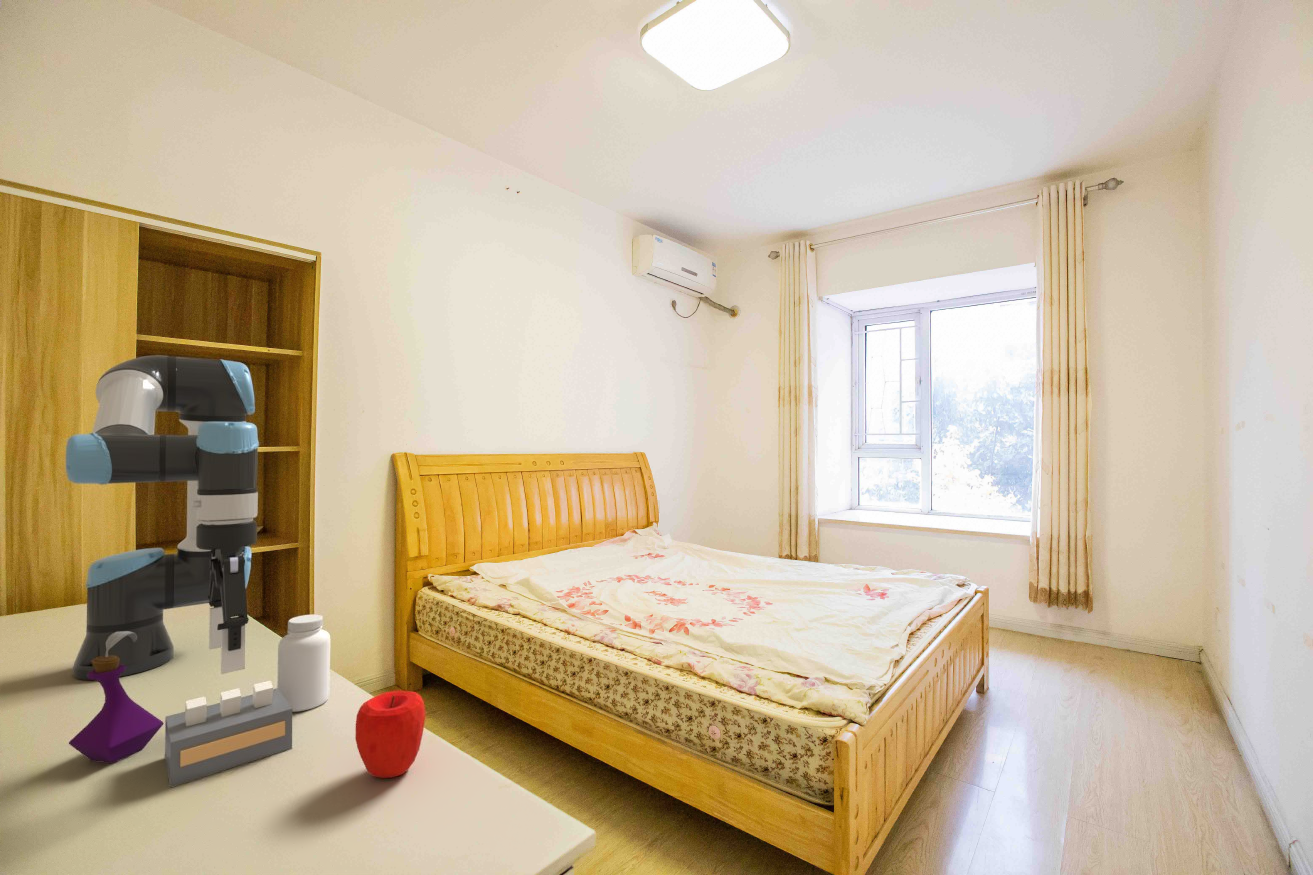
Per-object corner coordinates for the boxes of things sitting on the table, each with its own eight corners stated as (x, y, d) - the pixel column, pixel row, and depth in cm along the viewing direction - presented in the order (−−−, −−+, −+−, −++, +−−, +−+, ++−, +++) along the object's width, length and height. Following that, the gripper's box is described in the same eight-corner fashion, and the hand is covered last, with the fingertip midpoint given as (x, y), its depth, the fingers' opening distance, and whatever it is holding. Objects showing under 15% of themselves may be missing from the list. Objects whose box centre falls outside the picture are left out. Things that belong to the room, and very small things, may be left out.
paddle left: (185, 718, 81) (185, 700, 81) (204, 713, 83) (205, 696, 82) (186, 726, 80) (187, 709, 79) (206, 721, 81) (206, 704, 81)
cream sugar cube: (252, 700, 87) (253, 684, 86) (269, 696, 88) (270, 680, 88) (254, 708, 85) (255, 691, 85) (272, 703, 87) (273, 687, 86)
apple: (355, 799, 73) (356, 715, 73) (354, 765, 81) (355, 690, 81) (428, 780, 77) (429, 700, 77) (421, 749, 85) (421, 677, 85)
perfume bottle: (108, 771, 79) (109, 643, 79) (67, 765, 81) (68, 639, 81) (164, 743, 87) (165, 626, 87) (126, 738, 88) (127, 623, 88)
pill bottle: (340, 696, 103) (341, 614, 103) (299, 716, 95) (300, 627, 95) (308, 690, 105) (308, 609, 106) (265, 709, 98) (266, 622, 98)
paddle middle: (219, 708, 84) (220, 692, 84) (238, 704, 86) (239, 687, 85) (221, 717, 83) (222, 700, 82) (240, 712, 84) (241, 695, 84)
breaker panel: (165, 757, 83) (165, 716, 83) (277, 724, 93) (278, 687, 93) (170, 788, 75) (171, 743, 75) (292, 749, 85) (293, 709, 85)
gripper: (188, 515, 94) (186, 643, 94) (206, 532, 76) (204, 690, 76) (243, 512, 99) (242, 633, 99) (272, 526, 81) (271, 674, 81)
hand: (226, 658), depth 87 cm, fingers open, 13 cm apart
